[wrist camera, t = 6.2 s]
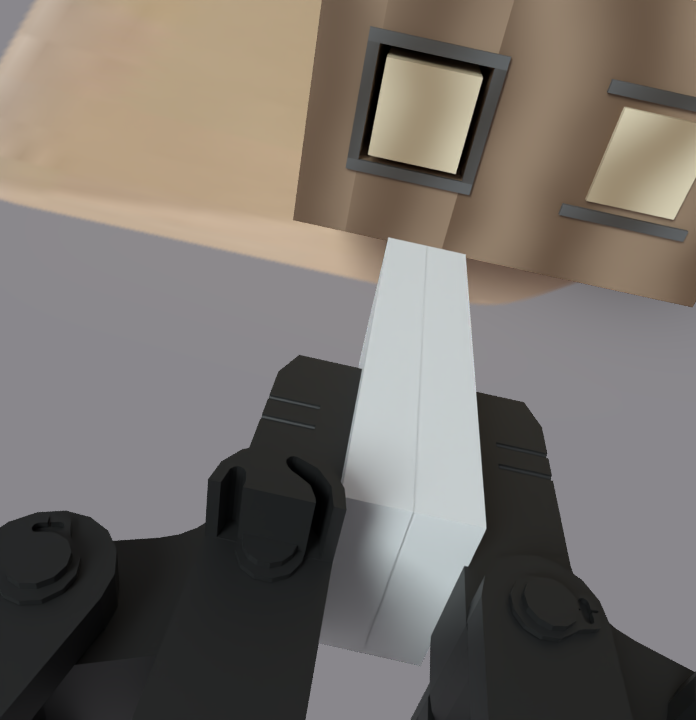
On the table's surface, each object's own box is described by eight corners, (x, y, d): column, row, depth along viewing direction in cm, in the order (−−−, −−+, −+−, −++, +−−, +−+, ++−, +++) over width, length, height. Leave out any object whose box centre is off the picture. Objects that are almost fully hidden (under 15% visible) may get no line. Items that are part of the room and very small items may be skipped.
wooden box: (751, 13, 30) (857, 36, 22) (641, 235, 37) (694, 309, 29) (358, -73, 30) (331, -79, 22) (322, 165, 37) (292, 222, 29)
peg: (473, 50, 31) (483, 77, 24) (452, 129, 33) (455, 173, 27) (397, 33, 31) (386, 56, 24) (381, 114, 33) (367, 154, 27)
